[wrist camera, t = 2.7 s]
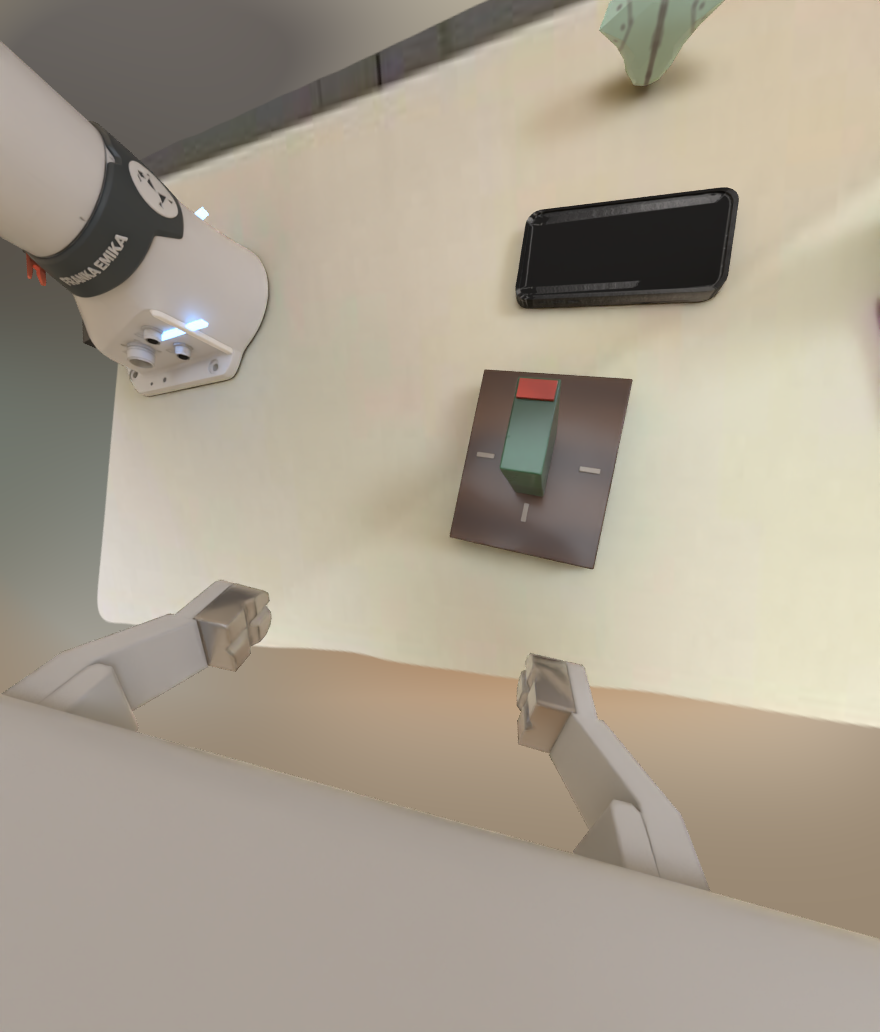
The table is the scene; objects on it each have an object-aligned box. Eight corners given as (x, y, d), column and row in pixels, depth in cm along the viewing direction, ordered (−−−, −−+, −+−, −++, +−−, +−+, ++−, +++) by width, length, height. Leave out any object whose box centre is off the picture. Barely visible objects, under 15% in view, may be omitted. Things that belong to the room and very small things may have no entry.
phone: (527, 211, 29) (741, 184, 25) (528, 223, 30) (733, 199, 26) (513, 301, 29) (725, 291, 24) (514, 310, 30) (718, 302, 25)
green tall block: (543, 497, 26) (541, 474, 17) (514, 492, 27) (498, 467, 18) (556, 432, 26) (561, 376, 17) (527, 429, 27) (517, 373, 18)
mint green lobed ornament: (590, 115, 29) (602, -4, 23) (596, 69, 30) (610, -62, 23) (699, 92, 27) (747, -48, 21) (706, 43, 27) (756, -113, 21)
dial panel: (589, 567, 27) (593, 569, 24) (456, 537, 30) (448, 537, 28) (625, 393, 27) (633, 377, 25) (489, 382, 30) (483, 368, 28)
